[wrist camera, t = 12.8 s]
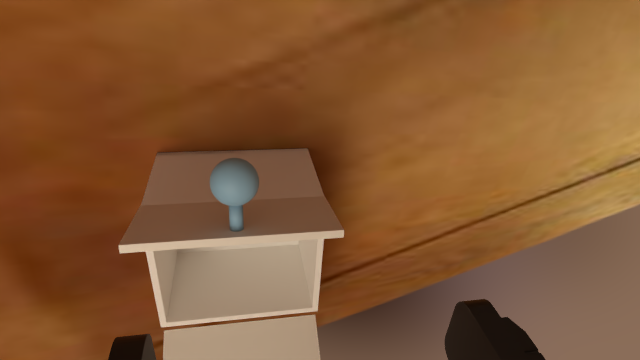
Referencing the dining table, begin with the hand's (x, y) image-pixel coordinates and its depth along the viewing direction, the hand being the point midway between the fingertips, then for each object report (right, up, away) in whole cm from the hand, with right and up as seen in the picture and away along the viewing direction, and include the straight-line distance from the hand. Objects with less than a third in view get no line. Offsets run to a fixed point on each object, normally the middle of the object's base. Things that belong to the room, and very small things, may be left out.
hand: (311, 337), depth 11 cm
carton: (-9, +1, +38) cm, 39 cm away
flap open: (-7, -14, +31) cm, 34 cm away
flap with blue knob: (-6, +1, +21) cm, 22 cm away
